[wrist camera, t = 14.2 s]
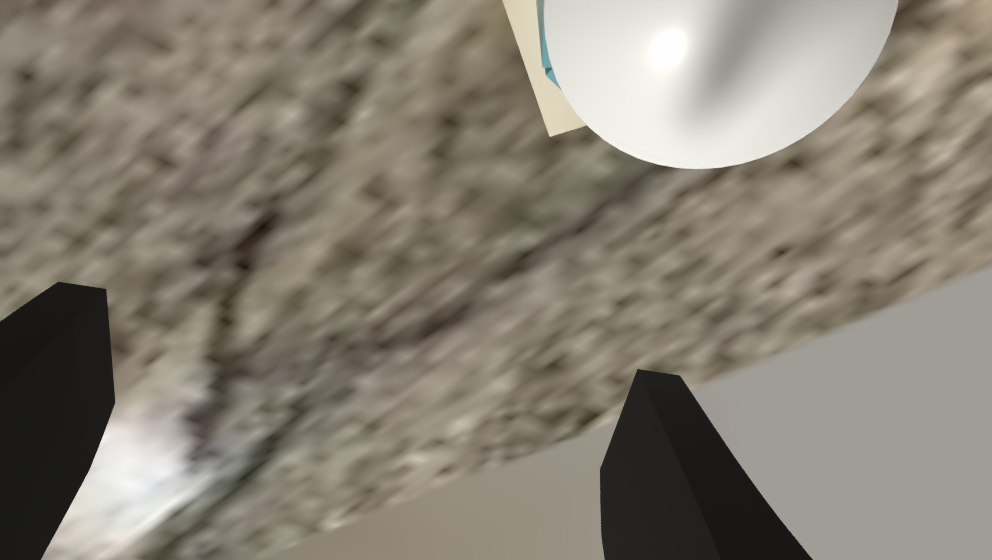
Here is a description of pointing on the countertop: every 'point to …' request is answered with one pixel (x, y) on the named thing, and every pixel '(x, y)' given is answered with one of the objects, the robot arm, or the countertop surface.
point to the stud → (540, 69)
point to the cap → (709, 71)
